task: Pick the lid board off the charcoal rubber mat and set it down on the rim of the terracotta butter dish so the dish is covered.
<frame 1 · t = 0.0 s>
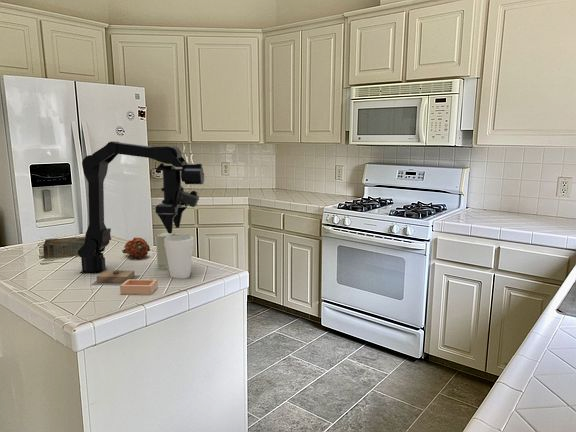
hand: (174, 230, 145), 15 cm above the counter, tool pointing down, fingers open, 9 cm apart
dish: (139, 292, 128), on the counter
foam cup: (180, 276, 144), on the counter
mat: (116, 281, 138), on the counter
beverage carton: (72, 255, 171), on the counter
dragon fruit: (136, 257, 167), on the counter
skincare box: (167, 268, 153), on the counter
lid: (116, 280, 138), resting on mat
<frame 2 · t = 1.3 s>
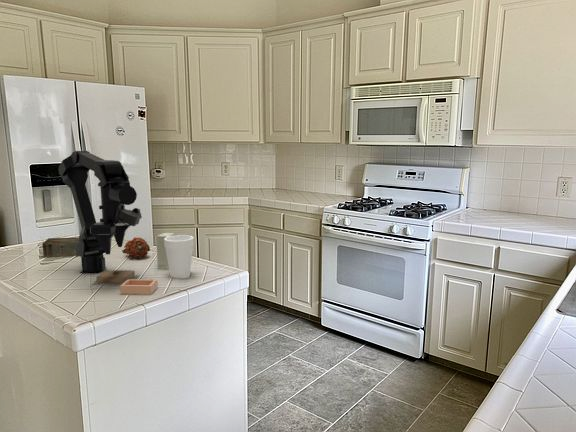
hand: (114, 250, 137), 10 cm above the counter, tool pointing down, fingers open, 9 cm apart
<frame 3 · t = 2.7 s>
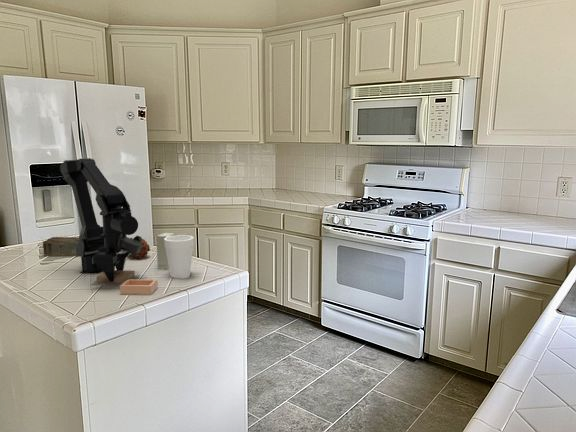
hand: (116, 278, 138), 1 cm above the counter, tool pointing down, fingers closed on lid, 6 cm apart
lid: (116, 280, 138), resting on mat, touching gripper
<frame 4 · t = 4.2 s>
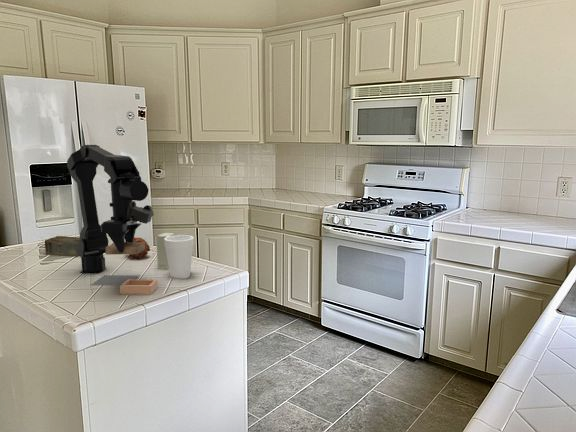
hand: (125, 249, 131), 12 cm above the counter, tool pointing down, fingers closed on lid, 6 cm apart
lid: (126, 251, 131), point 11 cm above the counter, touching gripper
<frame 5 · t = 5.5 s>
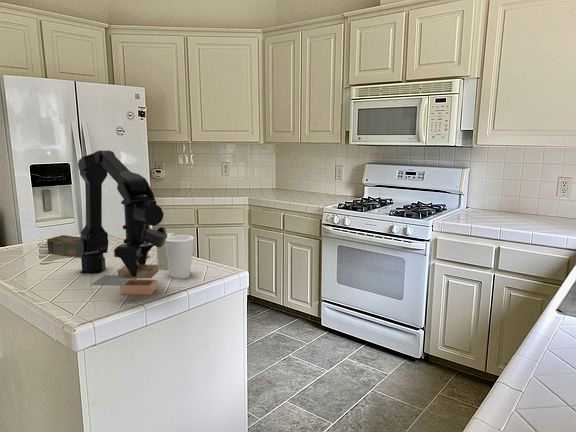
hand: (138, 272, 127), 6 cm above the counter, tool pointing down, fingers closed on lid, 6 cm apart
lid: (138, 274, 127), point 5 cm above the counter, touching gripper
when the fingers open (5 cm above the counter, at t = 6.1 s): lid drops 2 cm, resting on dish.
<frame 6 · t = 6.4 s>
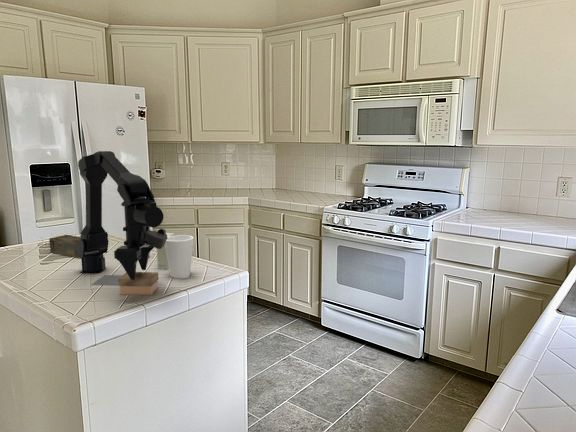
hand: (138, 274, 127), 5 cm above the counter, tool pointing down, fingers open, 9 cm apart
lid: (139, 282, 128), point 3 cm above the counter, touching dish
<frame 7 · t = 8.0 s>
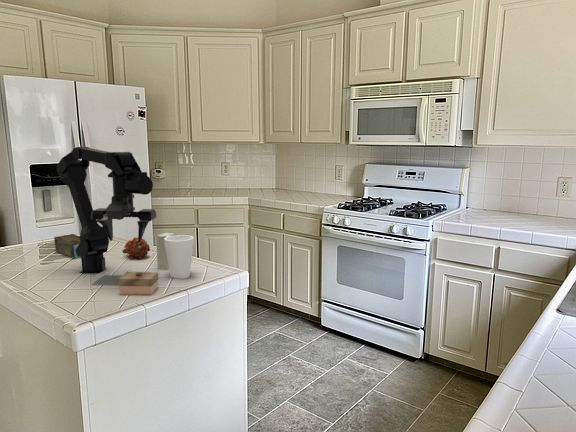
hand: (125, 240, 138), 13 cm above the counter, tool pointing down, fingers open, 9 cm apart
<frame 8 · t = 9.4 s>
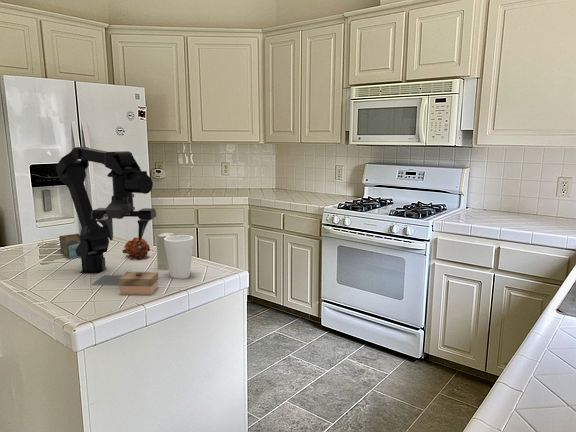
hand: (125, 240, 138), 13 cm above the counter, tool pointing down, fingers open, 9 cm apart
at the end: lid 0.0 cm off-centre on the dish, point 3.0 cm above the dish's base; lid tilted 0°; the gripper is holding nothing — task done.
